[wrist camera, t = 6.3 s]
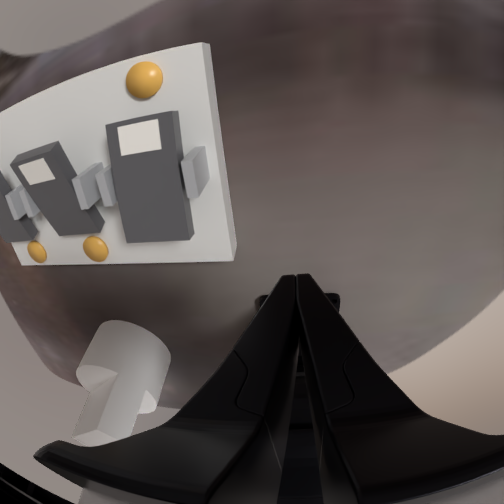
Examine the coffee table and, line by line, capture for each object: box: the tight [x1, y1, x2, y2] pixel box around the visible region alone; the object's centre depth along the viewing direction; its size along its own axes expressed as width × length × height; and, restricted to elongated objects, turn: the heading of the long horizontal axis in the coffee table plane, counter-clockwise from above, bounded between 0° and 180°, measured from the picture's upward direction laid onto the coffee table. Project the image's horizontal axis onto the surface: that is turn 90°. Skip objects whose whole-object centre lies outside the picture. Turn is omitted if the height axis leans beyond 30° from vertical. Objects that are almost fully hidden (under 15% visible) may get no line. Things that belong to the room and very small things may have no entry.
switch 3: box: [105, 111, 195, 243], centre depth 16 cm, size 7×4×1 cm, turn 5°
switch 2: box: [10, 141, 105, 236], centre depth 17 cm, size 7×4×1 cm, turn 6°
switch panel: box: [0, 42, 237, 265], centre depth 18 cm, size 14×21×5 cm, turn 96°
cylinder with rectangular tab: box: [72, 320, 171, 447], centre depth 27 cm, size 9×9×12 cm
